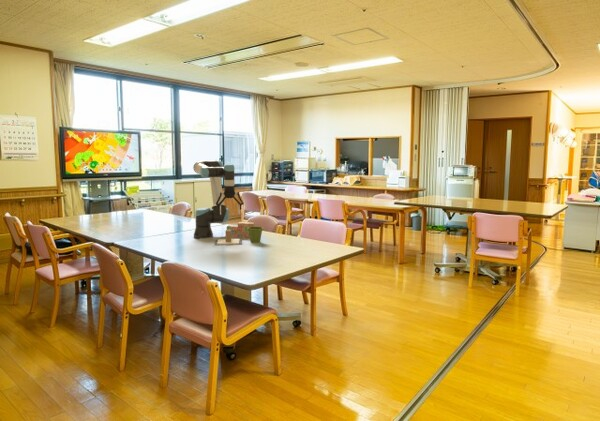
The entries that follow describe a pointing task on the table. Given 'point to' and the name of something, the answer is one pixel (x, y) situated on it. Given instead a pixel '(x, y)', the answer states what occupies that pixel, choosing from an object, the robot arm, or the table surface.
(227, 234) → the lid
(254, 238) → the plant pot
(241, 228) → the stack of blocks
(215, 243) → the mat
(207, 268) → the table surface
